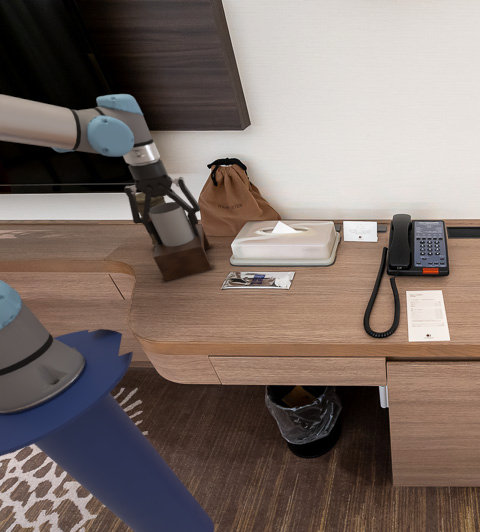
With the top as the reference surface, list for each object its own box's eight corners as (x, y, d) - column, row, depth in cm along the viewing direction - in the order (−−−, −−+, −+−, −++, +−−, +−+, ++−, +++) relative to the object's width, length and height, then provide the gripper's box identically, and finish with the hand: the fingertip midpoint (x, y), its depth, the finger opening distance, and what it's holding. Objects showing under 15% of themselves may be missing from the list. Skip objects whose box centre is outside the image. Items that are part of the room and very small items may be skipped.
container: (148, 250, 112) (122, 198, 102) (171, 237, 119) (149, 188, 109) (169, 254, 109) (144, 201, 100) (191, 241, 117) (170, 190, 107)
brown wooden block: (165, 281, 97) (153, 257, 92) (169, 255, 109) (158, 233, 105) (211, 269, 101) (201, 246, 97) (210, 246, 113) (201, 224, 109)
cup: (195, 241, 99) (182, 209, 94) (163, 249, 96) (147, 216, 90) (194, 230, 105) (181, 199, 100) (163, 237, 102) (148, 206, 97)
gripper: (89, 173, 81) (134, 253, 94) (190, 158, 89) (219, 234, 101) (97, 165, 87) (138, 242, 100) (191, 151, 95) (218, 224, 107)
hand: (179, 238), depth 100 cm, fingers open, 9 cm apart
